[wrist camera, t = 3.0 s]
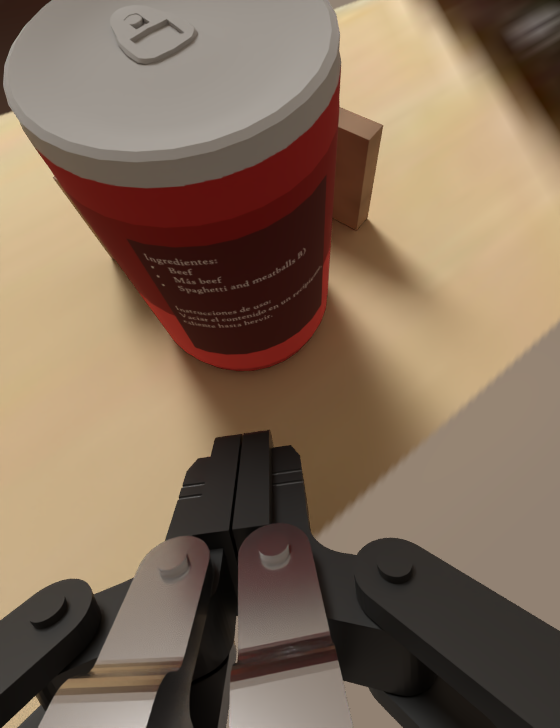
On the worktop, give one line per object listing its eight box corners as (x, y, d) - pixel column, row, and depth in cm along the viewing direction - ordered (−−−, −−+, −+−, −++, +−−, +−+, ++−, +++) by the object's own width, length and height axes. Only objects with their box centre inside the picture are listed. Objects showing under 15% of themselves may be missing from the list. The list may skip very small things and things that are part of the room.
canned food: (225, 215, 21) (146, -75, 11) (358, 278, 19) (409, -13, 9) (131, 323, 19) (-76, 83, 9) (269, 409, 17) (200, 219, 7)
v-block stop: (110, 268, 20) (50, 190, 16) (116, 168, 23) (67, 79, 19) (370, 228, 20) (387, 137, 15) (343, 132, 23) (351, 32, 18)
